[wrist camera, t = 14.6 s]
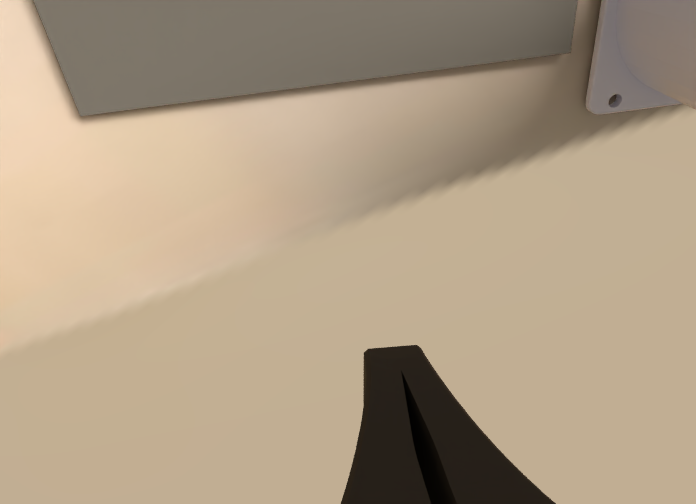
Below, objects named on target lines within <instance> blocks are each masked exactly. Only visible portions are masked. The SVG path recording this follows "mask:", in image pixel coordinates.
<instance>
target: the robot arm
mask: <svg viewBox="0 0 696 504" xmlns="http://www.w3.org/2000/svg"><path fill="white" fill-rule="evenodd" d="M615 94H617V98H616V100H615V101H614V102H613V103H612V104H609V99H610V98H611V97H612V96H613V95H615ZM678 104H686V105H688V106H690V107H692V108H694V109H696V0H602V1H601V7H600V14H599V20H598V26H597V33H596V39H595V45H594V52H593V58H592V64H591V70H590V77H589V83H588V89H587V96H586V108H587V109H588V110H589V111H590V112H592V113H594V114H596V115H602V114H609V113H617V112H625V111H632V110H640V109H648V108H655V107H663V106H671V105H678ZM341 504H556V503H554V502H553V501H552V500H551V499H549V497H547V496H546V495H545V494H544V493H543V492H541V490H540V489H539V488H537V487H536V486H535V485H534V484H533V483H532V482H531V481H530V480H529V479H527V477H526V476H524V475H523V474H522V473H521V472H520V471H519V470H518V469H517V468H516V467H515V466H514V465H513V464H512V463H511V462H510V461H509V460H508V459H507V458H506V457H505V456H504V454H503V453H502V452H501V451H500V450H499V449H498V448H497V447H496V446H495V445H494V444H493V443H492V442H491V440H490V439H489V438H488V437H487V436H486V435H485V434H484V433H483V431H482V430H481V429H480V428H479V427H478V426H477V425H476V423H475V422H474V421H473V420H472V419H471V417H470V416H469V415H468V414H467V412H466V411H465V410H464V409H463V407H462V406H461V405H460V404H459V402H458V401H457V400H456V399H455V397H454V396H453V395H452V393H451V392H450V391H449V389H448V388H447V387H446V385H445V384H444V382H443V381H442V380H441V378H440V377H439V376H438V374H437V373H436V371H435V370H434V368H433V367H432V365H431V364H430V362H429V361H428V359H427V358H426V356H425V355H424V353H423V351H422V349H421V348H420V347H419V346H417V345H411V346H398V347H387V348H374V349H368V350H367V351H365V352H364V408H363V415H362V422H361V427H360V432H359V437H358V442H357V446H356V452H355V455H354V459H353V464H352V468H351V471H350V475H349V478H348V482H347V485H346V489H345V492H344V495H343V498H342V501H341Z"/></svg>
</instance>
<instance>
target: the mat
mask: <svg viewBox="0 0 696 504" xmlns="http://www.w3.org/2000/svg"><path fill="white" fill-rule="evenodd" d="M33 1H34V4H35V6H36V8H37V11H38V13H39V16H40V18H41V21H42V23H43V26H44V28H45V31H46V33H47V35H48V38H49V40H50V43H51V45H52V48H53V50H54V53H55V55H56V58H57V60H58V62H59V65H60V67H61V70H62V72H63V75H64V77H65V80H66V82H67V84H68V87H69V89H70V92H71V94H72V97H73V99H74V102H75V104H76V107H77V109H78V111H79V114H80V116H86V115H94V114H101V113H109V112H117V111H125V110H132V109H140V108H148V107H155V106H163V105H171V104H179V103H186V102H194V101H202V100H210V99H217V98H225V97H233V96H241V95H248V94H256V93H264V92H272V91H279V90H287V89H295V88H303V87H310V86H318V85H326V84H334V83H341V82H349V81H357V80H365V79H372V78H380V77H388V76H396V75H403V74H411V73H419V72H427V71H434V70H442V69H450V68H457V67H465V66H473V65H481V64H488V63H496V62H504V61H512V60H519V59H527V58H535V57H543V56H550V55H558V54H566V53H571V45H572V38H573V30H574V23H575V15H576V8H577V1H578V0H33Z"/></svg>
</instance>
